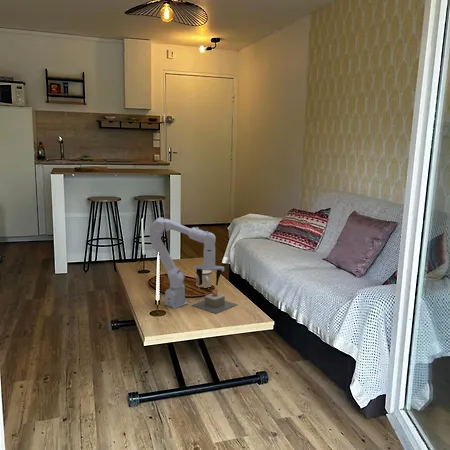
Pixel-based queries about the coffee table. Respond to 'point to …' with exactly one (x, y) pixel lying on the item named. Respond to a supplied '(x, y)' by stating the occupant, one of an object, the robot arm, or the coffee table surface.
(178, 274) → the robot arm
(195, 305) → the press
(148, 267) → the coffee table surface
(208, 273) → the teacup with lid
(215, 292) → the plunger
